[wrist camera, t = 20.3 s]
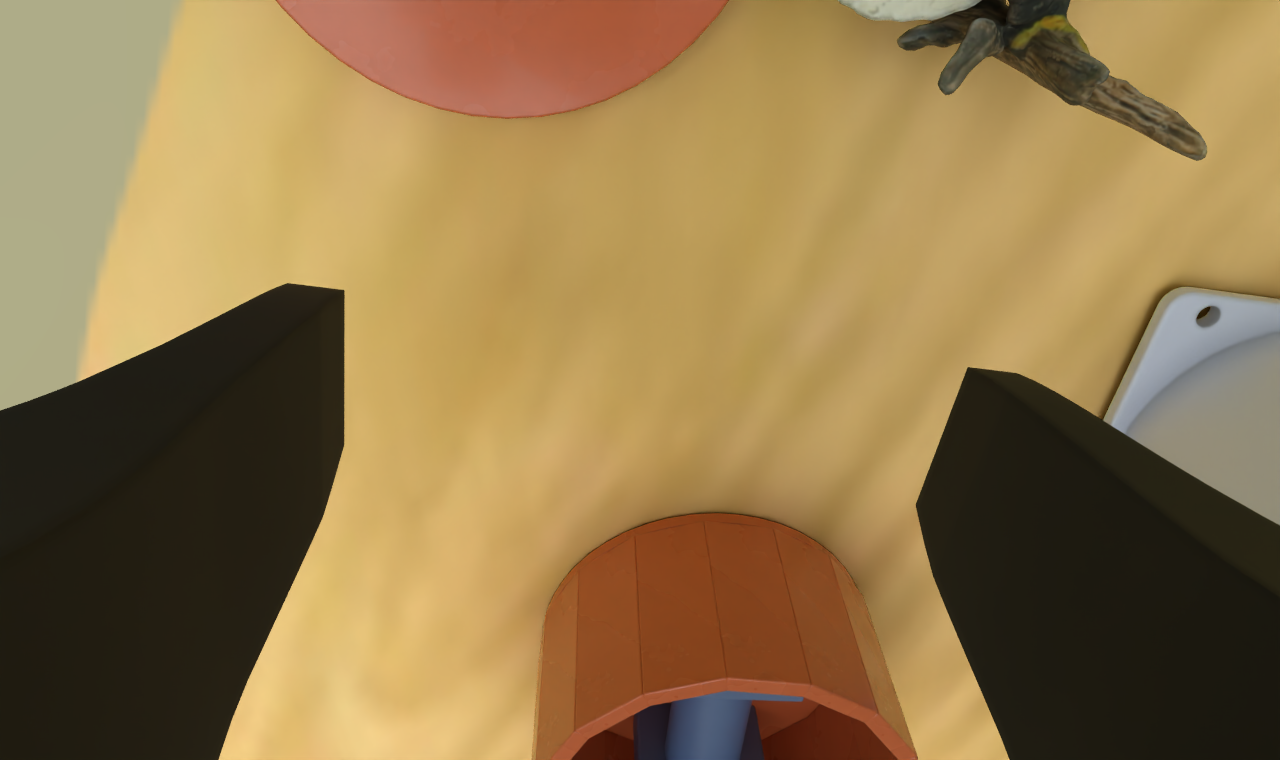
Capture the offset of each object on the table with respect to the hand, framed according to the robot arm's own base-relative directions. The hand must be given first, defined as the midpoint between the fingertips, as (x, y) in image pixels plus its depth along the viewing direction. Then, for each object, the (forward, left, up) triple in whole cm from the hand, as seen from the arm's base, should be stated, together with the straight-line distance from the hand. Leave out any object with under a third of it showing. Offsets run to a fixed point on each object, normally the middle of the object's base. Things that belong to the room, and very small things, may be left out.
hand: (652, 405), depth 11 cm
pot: (-4, +13, -9) cm, 17 cm away
